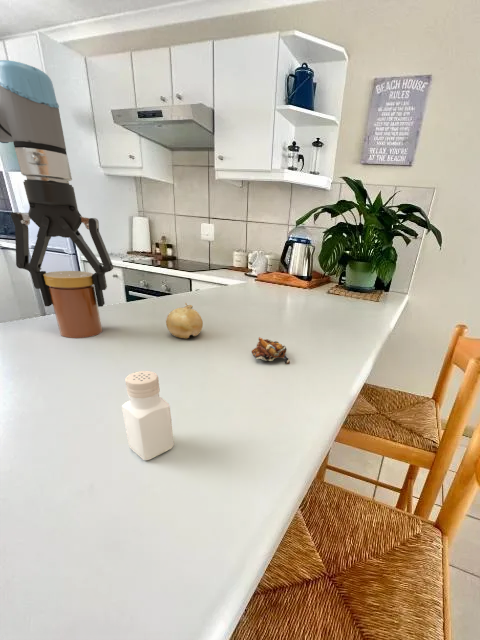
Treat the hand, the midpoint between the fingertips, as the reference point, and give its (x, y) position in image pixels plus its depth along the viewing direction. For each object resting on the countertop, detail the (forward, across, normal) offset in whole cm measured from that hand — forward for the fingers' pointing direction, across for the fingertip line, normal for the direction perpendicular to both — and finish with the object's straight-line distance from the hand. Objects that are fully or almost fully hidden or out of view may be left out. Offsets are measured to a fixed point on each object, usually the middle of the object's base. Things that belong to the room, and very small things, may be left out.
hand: (75, 304), depth 68 cm
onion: (+6, +22, -3) cm, 23 cm away
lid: (-6, 0, 0) cm, 6 cm away
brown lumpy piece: (+6, +39, -16) cm, 42 cm away
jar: (+6, 0, 0) cm, 6 cm away
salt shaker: (+6, +18, -44) cm, 48 cm away
